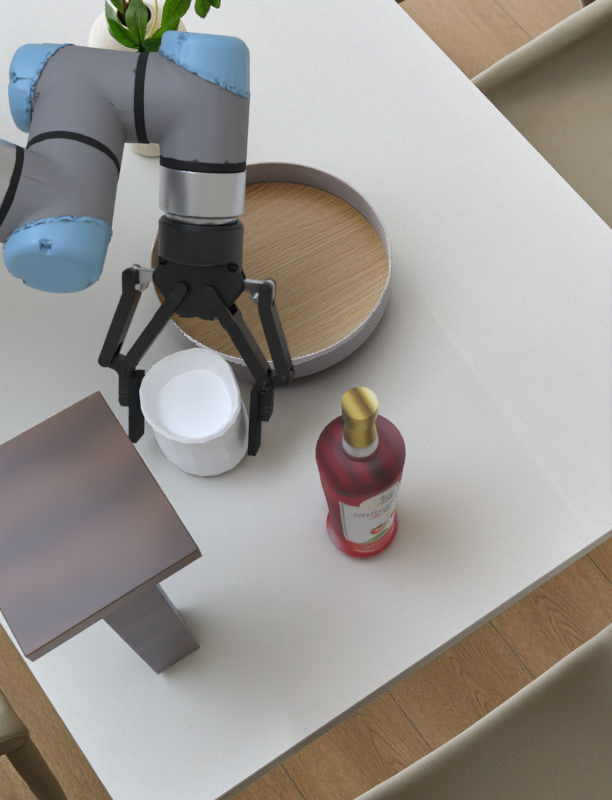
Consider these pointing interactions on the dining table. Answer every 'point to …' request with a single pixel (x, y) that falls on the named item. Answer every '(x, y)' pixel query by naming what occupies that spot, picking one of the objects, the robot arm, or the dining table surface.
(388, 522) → the liquor
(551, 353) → the dining table surface
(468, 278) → the dining table surface
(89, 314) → the dining table surface
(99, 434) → the wooden pedestal stand
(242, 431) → the cup
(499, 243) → the dining table surface
